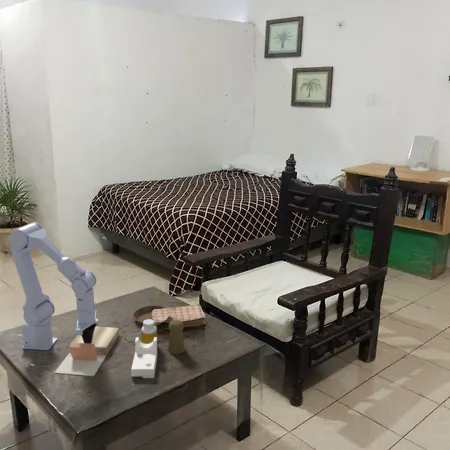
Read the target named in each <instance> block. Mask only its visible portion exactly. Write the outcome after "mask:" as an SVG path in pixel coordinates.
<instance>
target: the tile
mask: <svg viewBox="0 0 450 450" xmlns="http://www.w3.org/2000/svg"><path fill="white" fill-rule="evenodd" d="M68 348H69V353H70V352H71V355H72V358H73V359H82V360H95V361H96V358H97V352H96V348H95V345H94V344H88V343H74V342H72V341H71V342H70V344H69V346H68Z"/></svg>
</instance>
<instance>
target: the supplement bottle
mask: <svg viewBox="0 0 450 450" xmlns="http://www.w3.org/2000/svg"><path fill="white" fill-rule="evenodd" d="M154 325H155V323H154V320H152V319H147V320H144V321H143V325H142V327H141V329H140V330H141V332H140V333H141V342H142V343H144V344H150V343H151V342H153V340H154V337H157V338H158V335H157V334H158V333H157V332H158V331H157V330H158V329H157V328H158V327H157V326H154Z"/></svg>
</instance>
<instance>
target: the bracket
mask: <svg viewBox="0 0 450 450" xmlns="http://www.w3.org/2000/svg"><path fill="white" fill-rule="evenodd" d="M134 350H135V352H134V356H133V360H132V365H131V369H130V370H131V371H130V373H131V374H130V375H131V377H142V379H154V378H155V373H156V367H157V363H158V362H157V360H158V336H157V337H154V340H153V342H151V343H150V344H144V343H142V340H140V337H139V336H137V337H135V339H134Z"/></svg>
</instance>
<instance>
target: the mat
mask: <svg viewBox="0 0 450 450" xmlns="http://www.w3.org/2000/svg"><path fill="white" fill-rule="evenodd" d="M106 358H107V355H97V358H96V361H95V360H82V359H73V358H72V355H71V353H70V352H69V353H68V354H67V355H66V357H65V358H64V359H63V361H62V362H61V363H60V364H59V366H58V367H57V369H55V371H54V374H57V375H58V374H61V375H70V376H71V375H72V376H86V377H95V375H96V373H97V372H98V371H99V368H100V367H101V365H102V363H103V362H104V361H105V359H106Z"/></svg>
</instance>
